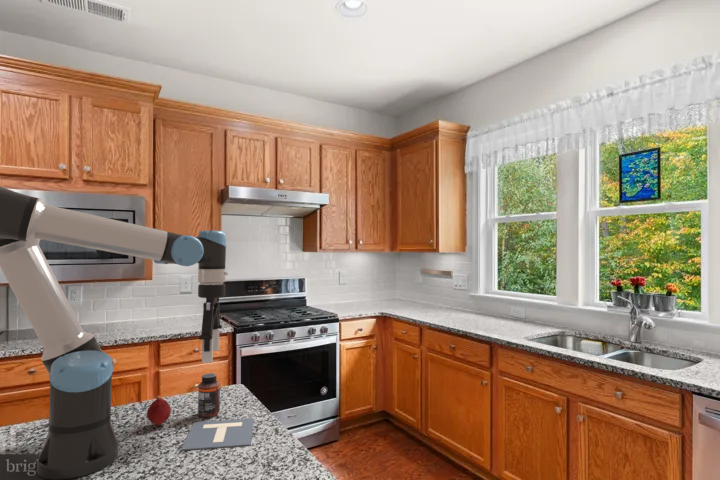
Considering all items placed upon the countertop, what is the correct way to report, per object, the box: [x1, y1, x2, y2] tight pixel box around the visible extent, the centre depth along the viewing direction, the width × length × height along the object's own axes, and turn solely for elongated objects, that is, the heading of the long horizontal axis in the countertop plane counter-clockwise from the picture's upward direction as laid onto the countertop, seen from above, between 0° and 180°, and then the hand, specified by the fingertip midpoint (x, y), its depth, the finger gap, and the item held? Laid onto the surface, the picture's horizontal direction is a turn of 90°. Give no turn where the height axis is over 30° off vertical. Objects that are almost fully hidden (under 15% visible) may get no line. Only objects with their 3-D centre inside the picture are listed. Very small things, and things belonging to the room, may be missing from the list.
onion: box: [146, 395, 172, 427], centre depth 115 cm, size 6×6×8 cm
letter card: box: [181, 418, 255, 451], centre depth 110 cm, size 16×16×1 cm
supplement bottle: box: [197, 372, 221, 418], centre depth 123 cm, size 6×6×11 cm
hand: (210, 356), depth 123 cm, fingers open, 13 cm apart
